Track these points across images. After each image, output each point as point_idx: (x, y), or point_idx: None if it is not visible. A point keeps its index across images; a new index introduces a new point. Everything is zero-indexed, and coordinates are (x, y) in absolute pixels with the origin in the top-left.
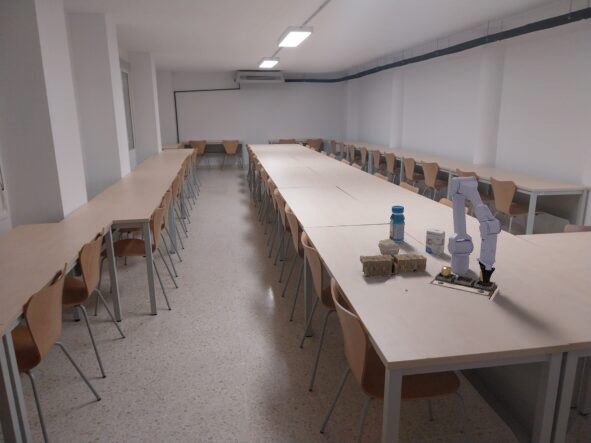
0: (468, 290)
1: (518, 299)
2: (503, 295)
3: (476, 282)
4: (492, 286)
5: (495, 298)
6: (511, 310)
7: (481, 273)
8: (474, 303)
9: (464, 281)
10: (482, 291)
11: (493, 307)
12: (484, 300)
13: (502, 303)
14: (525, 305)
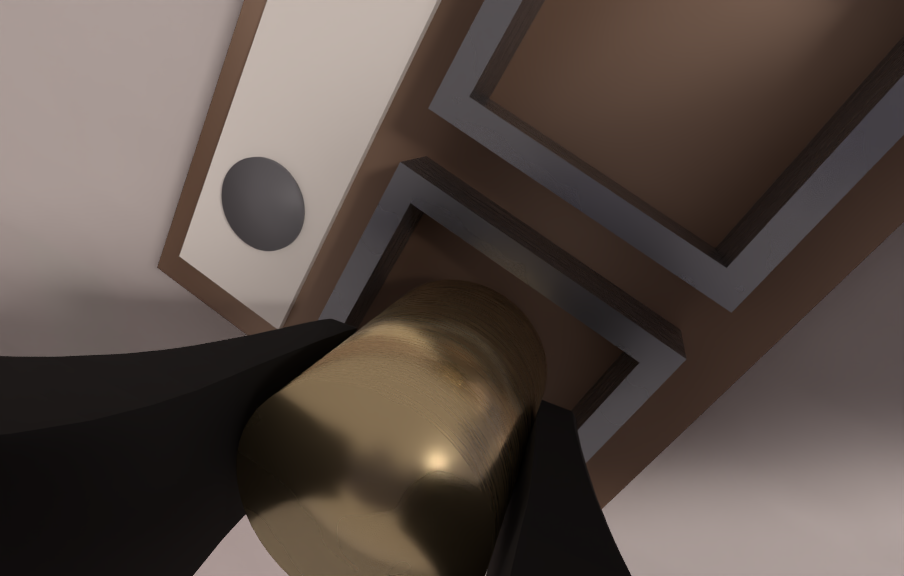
0: (279, 8)
1: (246, 538)
2: None
3: (495, 245)
4: None
5: (228, 336)
6: (19, 348)
7: (289, 388)
8: (47, 20)
9: (768, 62)
10: (258, 228)
11: (22, 211)
12: (152, 183)
13: (128, 345)
14: None
